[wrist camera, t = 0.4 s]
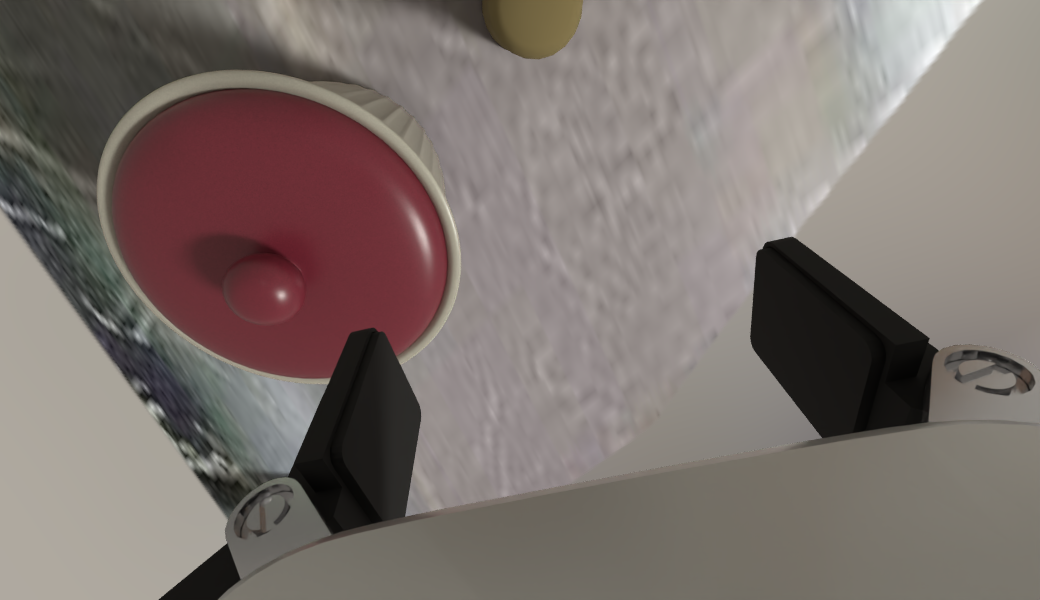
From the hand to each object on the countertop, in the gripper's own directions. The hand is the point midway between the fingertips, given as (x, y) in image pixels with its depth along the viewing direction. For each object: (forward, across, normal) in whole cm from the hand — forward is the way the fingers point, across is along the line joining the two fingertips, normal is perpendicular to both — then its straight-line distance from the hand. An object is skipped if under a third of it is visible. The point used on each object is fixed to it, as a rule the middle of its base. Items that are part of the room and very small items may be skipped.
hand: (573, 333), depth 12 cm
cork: (+30, -2, -7) cm, 31 cm away
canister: (+30, +14, +2) cm, 33 cm away
